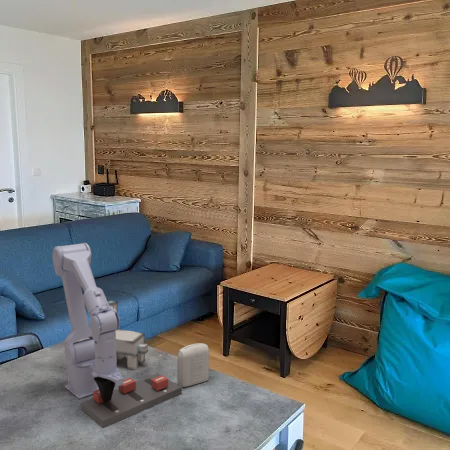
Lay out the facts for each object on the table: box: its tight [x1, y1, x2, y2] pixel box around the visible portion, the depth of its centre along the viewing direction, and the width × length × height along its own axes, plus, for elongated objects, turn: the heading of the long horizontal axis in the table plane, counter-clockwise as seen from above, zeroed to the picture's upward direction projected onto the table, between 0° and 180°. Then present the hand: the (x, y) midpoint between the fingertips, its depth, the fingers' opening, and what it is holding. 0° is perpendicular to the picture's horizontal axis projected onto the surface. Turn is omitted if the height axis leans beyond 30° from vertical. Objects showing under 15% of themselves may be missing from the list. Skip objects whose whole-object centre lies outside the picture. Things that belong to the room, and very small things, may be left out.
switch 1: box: [92, 389, 104, 404], centre depth 135 cm, size 3×4×2 cm
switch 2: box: [117, 377, 136, 394], centre depth 141 cm, size 3×4×2 cm
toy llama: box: [107, 300, 149, 372], centre depth 161 cm, size 8×18×20 cm, turn 72°
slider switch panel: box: [80, 372, 183, 429], centre depth 139 cm, size 12×26×2 cm, turn 134°
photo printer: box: [176, 342, 210, 388], centre depth 150 cm, size 10×4×12 cm, turn 123°
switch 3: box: [151, 374, 169, 391], centre depth 143 cm, size 3×4×2 cm
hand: (106, 400), depth 134 cm, fingers closed
